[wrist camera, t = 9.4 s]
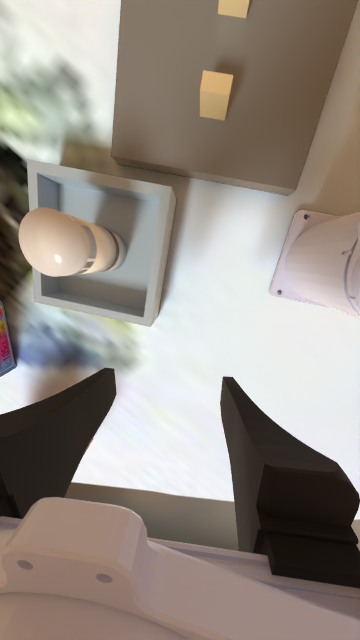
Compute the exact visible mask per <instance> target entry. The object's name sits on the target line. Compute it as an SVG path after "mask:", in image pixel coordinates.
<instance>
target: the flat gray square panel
mask: <svg viewBox="0 0 360 640" xmlns="http://www.w3.org/2000/svg"><path fill="white" fill-rule="evenodd" d="M357 2H358V0H121V10H120V26H119V42H118V57H117V73H116V89H115V104H114V120H113V136H112V151H111V156H112V157H113V158H114V160H115V161H116V162H117V163H118V164H122V165H127V166H132V167H138V168H143V169H148V170H154V171H159V172H164V173H170V174H175V175H180V176H186V177H191V178H197V179H202V180H207V181H213V182H218V183H223V184H229V185H234V186H239V187H245V188H250V189H255V190H261V191H266V192H271V193H277V194H282V195H287V196H288V195H290V194H291V193H292V192H294V191H295V190H296V188H297V185H298V182H299V179H300V176H301V173H302V170H303V167H304V164H305V161H306V158H307V155H308V151H309V148H310V145H311V142H312V139H313V136H314V133H315V130H316V127H317V124H318V121H319V118H320V115H321V112H322V109H323V106H324V103H325V100H326V97H327V94H328V91H329V88H330V85H331V81H332V78H333V75H334V72H335V69H336V66H337V63H338V60H339V57H340V54H341V51H342V48H343V45H344V42H345V39H346V36H347V33H348V30H349V27H350V24H351V21H352V18H353V15H354V12H355V8H356V5H357Z"/></svg>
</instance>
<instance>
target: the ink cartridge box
mask: <svg viewBox="0 0 360 640" xmlns="http://www.w3.org/2000/svg"><path fill="white" fill-rule="evenodd" d="M15 368H16V364H15V360H14V355H13V350H12V345H11V340H10V335H9V330H8V325H7V320H6V315H5V309H4V305H3V302H2V301H1V300H0V377H1V376H3V375H5V374H6V373H8V372H9V371H11V370H13V369H15Z"/></svg>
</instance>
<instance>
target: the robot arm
mask: <svg viewBox="0 0 360 640" xmlns="http://www.w3.org/2000/svg"><path fill="white" fill-rule="evenodd" d="M305 214H306V215H307V216H308V218H307V220H305V219H304V215H305ZM278 290H281V293H280V294H277V291H278ZM269 294H270V295H272V296H276V297H280V298H285V299H290V300H295V301H300V302H305V303H310V304H315V305H319V306H324V307H329V308H333V309H336V310H339V311H341V312H344V313H347V314H350V315H352V316H355V317H358V318H360V211H359V212H356V213H352V214H349V215H346V216H342V217H341V216H335V215H330V214H325V213H320V212H314V211H309V210H304V209H301V210H299V211H297V212H296V213H295V215H294V217H293V220H292V223H291V226H290V229H289V232H288V235H287V238H286V241H285V244H284V247H283V250H282V253H281V256H280V258H279V261H278V264H277V267H276V270H275V273H274V276H273V279H272V282H271V285H270V288H269ZM115 397H116V384H115V374H114V369H112V368H104V369H102V370H100V371H98V372H97V373H95V374H93V375H91V376H90V377H88V378H86V379H84V380H83V381H81V382H79V383H77V384H75V385H73V386H72V387H70V388H68V389H66V390H64V391H62V392H60V393H58V394H56V395H53V396H51V397H49V398H47V399H44V400H42V401H39V402H37V403H34V404H31V405H29V406H26V407H23V408H20V409H17V410H14V411H11V412H8V413H4V414H1V415H0V640H360V551H359V549H358V547H357V545H356V544H358V538H357V536H356V534H355V533H354V531H353V529H352V527H351V524H352V522H353V520H354V518H355V515H356V513H357V511H358V508H359V504H360V498H359V494H358V492H357V491H356V489H355V488H354V486H353V485H352V483H351V481H350V480H349V478H348V477H347V475H346V474H345V473H344V471H343V470H342V469H341V467H340V466H339V465H338V463H337V462H335V461H333V460H331V459H330V458H328V457H326V456H324V455H322V454H321V453H319V452H317V451H315V450H314V449H312V448H310V447H309V446H307V445H306V444H304V443H303V442H301V441H300V440H298V439H297V438H295V437H294V436H292V435H291V434H289V433H288V432H287V431H285V430H284V429H283V428H281V427H280V426H279V425H278V424H276V423H275V422H274V421H273V420H272V419H270V418H269V417H268V416H267V415H266V414H265V413H264V412H263V411H262V410H261V409H260V408H259V407H258V406H257V405H256V404H255V403H254V402H253V401H252V400H251V399H250V398H249V397H248V395H247V394H246V393H245V392H244V391H243V390H242V388H241V387H240V386H239V384H238V383H237V382H236V381H235V379H234V378H233V377H223V381H222V391H221V401H220V406H221V417H222V423H223V428H224V433H225V438H226V443H227V448H228V453H229V458H230V464H231V473H232V482H233V492H234V502H235V512H236V522H237V533H238V546H239V551H234V550H226V549H220V548H213V547H206V546H199V545H193V544H186V543H180V542H172V541H166V540H160V539H153V538H147V530H146V527H145V525H144V523H143V521H142V519H141V517H140V516H138V515H137V514H136V513H135V512H133V511H132V510H131V509H128V508H124V507H121V506H118V505H111V504H104V503H96V502H88V501H82V500H74V499H67V498H64V497H65V494H66V492H67V489H68V487H69V485H70V483H71V481H72V478H73V476H74V474H75V472H76V470H77V467H78V465H79V463H80V461H81V459H82V457H83V455H84V453H85V451H86V449H87V447H88V445H89V443H90V441H91V440H92V438H93V436H94V435H95V433H96V431H97V430H98V428H99V427H100V425H101V423H102V422H103V420H104V418H105V417H106V415H107V413H108V412H109V410H110V408H111V406H112V404H113V401H114V399H115Z"/></svg>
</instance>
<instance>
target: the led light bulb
mask: <svg viewBox="0 0 360 640" xmlns="http://www.w3.org/2000/svg"><path fill="white" fill-rule="evenodd" d="M19 242H20V247H21V250H22V252H23V254H24V256H25V258H26V259H27V261H28V262H29V263H30V264H31V265H32V266H33V267H34V268H35V269H36V270H38V271H39V272H41V273H43V274H45V275H48V276H53V277H58V276H68V275H76V274H85V273H94V272H104V271H112V270H116V269H118V268H120V267H121V266H122V265H123V263H124V262H125V260H126V256H127V248H126V244H125V242H124V240H123V238H122V237H121V236H120V235H119V234H118V233H117V232H115V231H113V230H111V229H108V228H105V227H103V226H100V225H97V224H94V223H91V222H88V221H85V220H82V219H80V218H77V217H74V216H71V215H68V214H65V213H63V212H60V211H57V210H54V209H51V208H45V207H41V208H36V209H33V210H31V211H30V212H29V213H27V214H26V215H25V217H24V218H23V220H22V222H21V224H20V228H19Z"/></svg>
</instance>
